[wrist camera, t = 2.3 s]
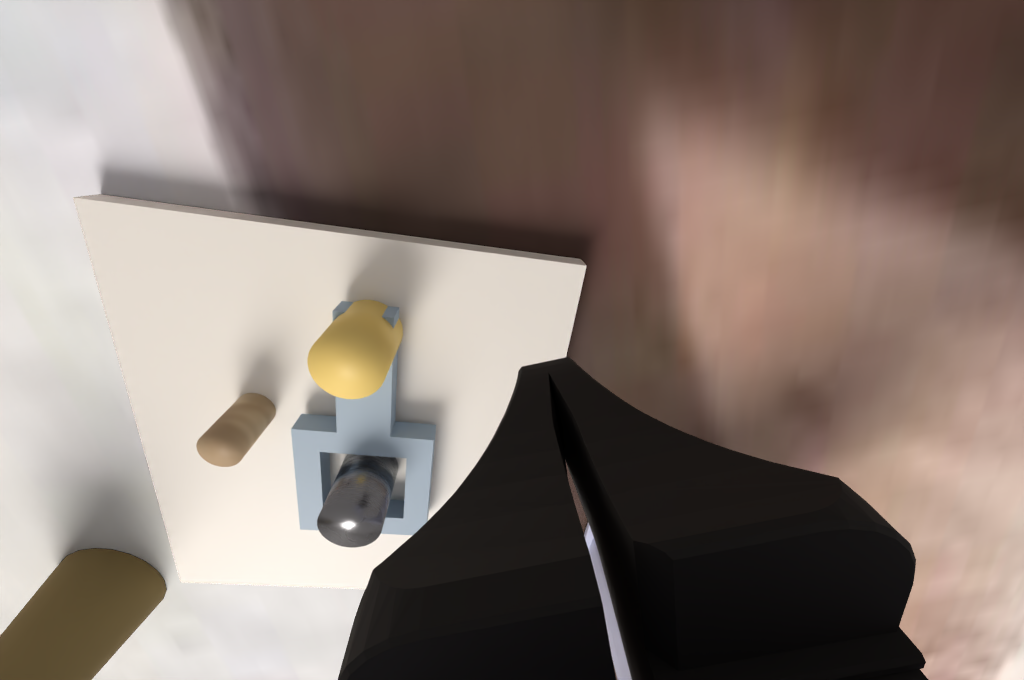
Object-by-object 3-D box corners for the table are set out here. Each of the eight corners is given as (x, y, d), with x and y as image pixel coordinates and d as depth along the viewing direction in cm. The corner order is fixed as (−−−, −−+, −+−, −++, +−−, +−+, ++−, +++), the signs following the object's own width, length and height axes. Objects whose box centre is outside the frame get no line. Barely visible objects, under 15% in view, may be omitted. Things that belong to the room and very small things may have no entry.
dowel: (285, 381, 21) (240, 434, 17) (287, 411, 21) (245, 468, 18) (247, 378, 20) (192, 430, 17) (251, 408, 21) (200, 465, 17)
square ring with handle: (428, 517, 23) (419, 574, 20) (309, 511, 22) (280, 568, 19) (446, 308, 18) (438, 341, 15) (292, 290, 17) (250, 321, 14)
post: (403, 432, 22) (382, 504, 18) (401, 471, 24) (381, 549, 19) (350, 427, 22) (315, 500, 18) (350, 468, 23) (318, 546, 19)
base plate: (580, 258, 19) (586, 265, 18) (511, 577, 28) (512, 594, 27) (100, 194, 17) (72, 197, 16) (193, 563, 26) (180, 582, 25)
